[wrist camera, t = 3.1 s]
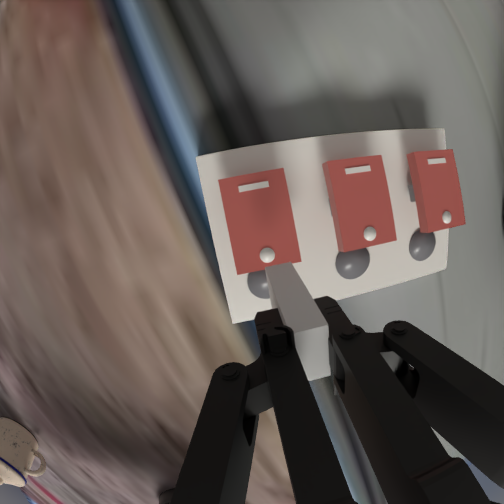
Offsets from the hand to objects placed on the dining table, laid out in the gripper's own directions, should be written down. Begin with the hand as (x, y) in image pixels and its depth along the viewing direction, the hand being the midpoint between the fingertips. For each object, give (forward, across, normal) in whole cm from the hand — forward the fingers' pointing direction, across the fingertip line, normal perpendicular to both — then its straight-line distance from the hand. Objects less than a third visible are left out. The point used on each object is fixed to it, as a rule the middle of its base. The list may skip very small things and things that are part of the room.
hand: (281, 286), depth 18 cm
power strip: (+10, -7, -1) cm, 12 cm away
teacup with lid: (+10, +44, +25) cm, 52 cm away
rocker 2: (+7, -7, -2) cm, 10 cm away
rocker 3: (+7, -15, -2) cm, 16 cm away
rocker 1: (+7, 0, -2) cm, 7 cm away
